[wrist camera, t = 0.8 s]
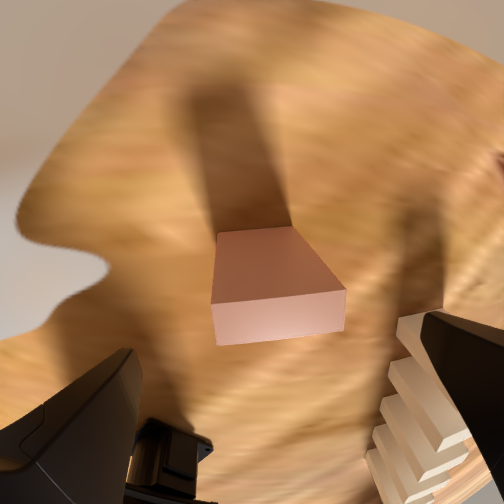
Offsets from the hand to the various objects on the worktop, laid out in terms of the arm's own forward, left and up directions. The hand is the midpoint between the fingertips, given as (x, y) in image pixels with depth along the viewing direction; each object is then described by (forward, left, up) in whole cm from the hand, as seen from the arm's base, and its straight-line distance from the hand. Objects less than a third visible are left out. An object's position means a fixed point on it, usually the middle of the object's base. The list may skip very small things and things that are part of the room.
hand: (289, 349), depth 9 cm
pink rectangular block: (0, 0, -11) cm, 11 cm away
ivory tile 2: (-1, -17, -11) cm, 20 cm away
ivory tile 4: (-7, -22, -11) cm, 26 cm away
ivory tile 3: (-4, -20, -11) cm, 23 cm away
